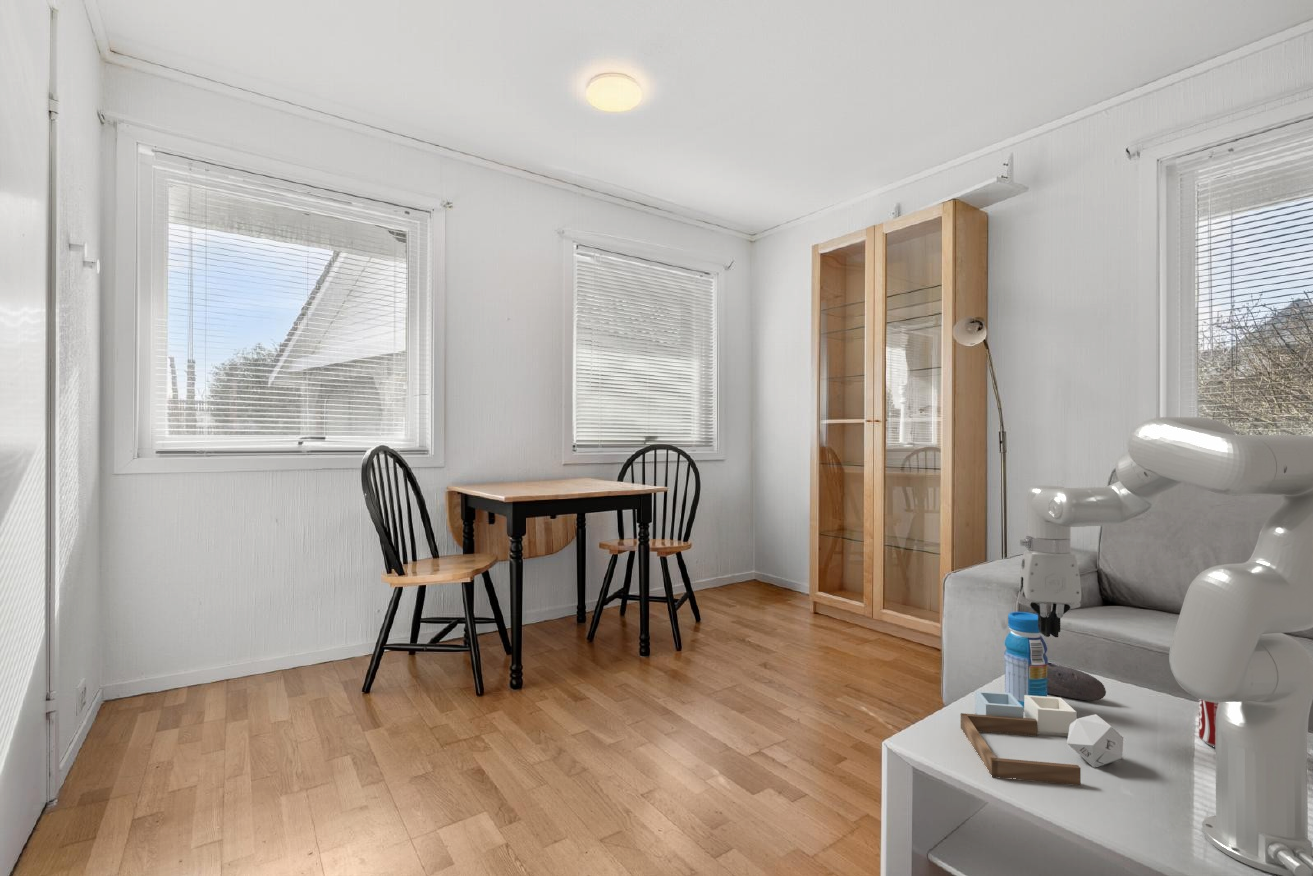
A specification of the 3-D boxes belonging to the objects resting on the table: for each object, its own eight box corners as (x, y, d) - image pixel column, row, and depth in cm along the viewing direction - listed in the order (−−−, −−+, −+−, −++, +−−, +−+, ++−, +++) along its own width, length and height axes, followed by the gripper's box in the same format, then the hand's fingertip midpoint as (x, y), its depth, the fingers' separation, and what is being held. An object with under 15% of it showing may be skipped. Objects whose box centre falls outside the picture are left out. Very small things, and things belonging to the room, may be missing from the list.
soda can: (1255, 756, 116) (1255, 692, 116) (1214, 752, 117) (1213, 689, 117) (1230, 739, 122) (1229, 678, 122) (1190, 735, 123) (1190, 675, 124)
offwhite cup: (1076, 737, 123) (1076, 712, 123) (1038, 734, 124) (1037, 709, 124) (1060, 721, 130) (1060, 697, 130) (1024, 718, 131) (1024, 695, 131)
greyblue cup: (1023, 731, 125) (1023, 707, 125) (986, 728, 127) (986, 704, 127) (1010, 716, 132) (1010, 693, 132) (975, 714, 134) (975, 690, 134)
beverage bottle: (1002, 707, 137) (1001, 616, 137) (1006, 694, 144) (1005, 608, 144) (1047, 716, 132) (1046, 623, 132) (1049, 702, 139) (1048, 614, 139)
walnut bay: (1080, 785, 106) (1080, 768, 106) (991, 777, 109) (991, 760, 109) (1035, 733, 124) (1035, 719, 125) (960, 727, 127) (960, 713, 127)
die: (1062, 765, 114) (1094, 737, 108) (1052, 724, 121) (1082, 697, 115) (1108, 784, 113) (1142, 758, 107) (1095, 742, 120) (1127, 715, 114)
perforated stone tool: (1107, 701, 140) (1106, 670, 140) (1105, 709, 136) (1105, 677, 136) (1030, 684, 150) (1030, 656, 150) (1026, 691, 146) (1026, 662, 146)
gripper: (1014, 548, 125) (1015, 638, 125) (1099, 550, 122) (1100, 643, 122) (1001, 542, 132) (1002, 627, 132) (1081, 544, 129) (1081, 631, 129)
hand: (1049, 634), depth 127 cm, fingers closed
